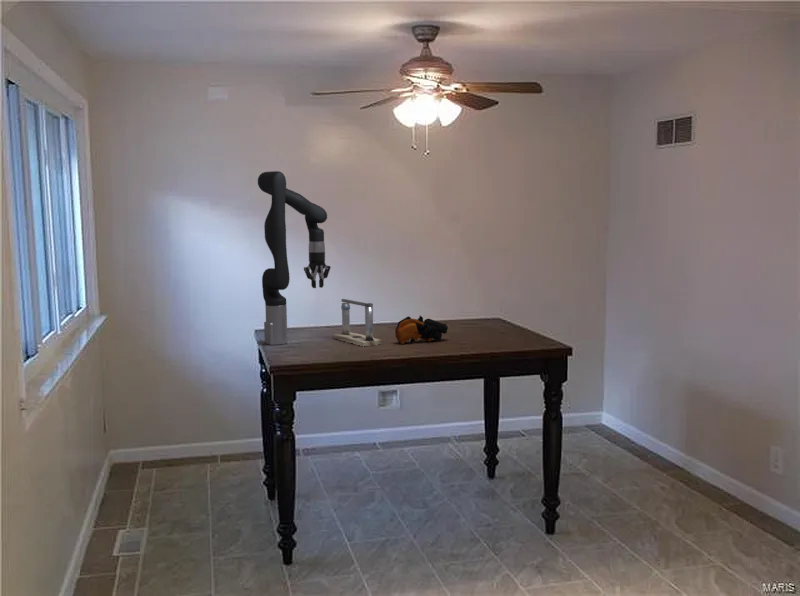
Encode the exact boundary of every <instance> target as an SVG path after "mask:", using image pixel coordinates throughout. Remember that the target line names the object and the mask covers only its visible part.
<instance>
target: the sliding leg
mask: <svg viewBox="0 0 800 596" xmlns="http://www.w3.org/2000/svg"><path fill="white" fill-rule="evenodd" d="M350 309H351V305H350V303H346V302H342V303H341V317H342V318H341V328H342V329H341V330H342V331H341V332H342V333H341V334H350V332H351V330H350V329H351V325H350V324H351V322H350V321H351V318H350V317H351V316H350V312H351V311H350Z"/></svg>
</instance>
